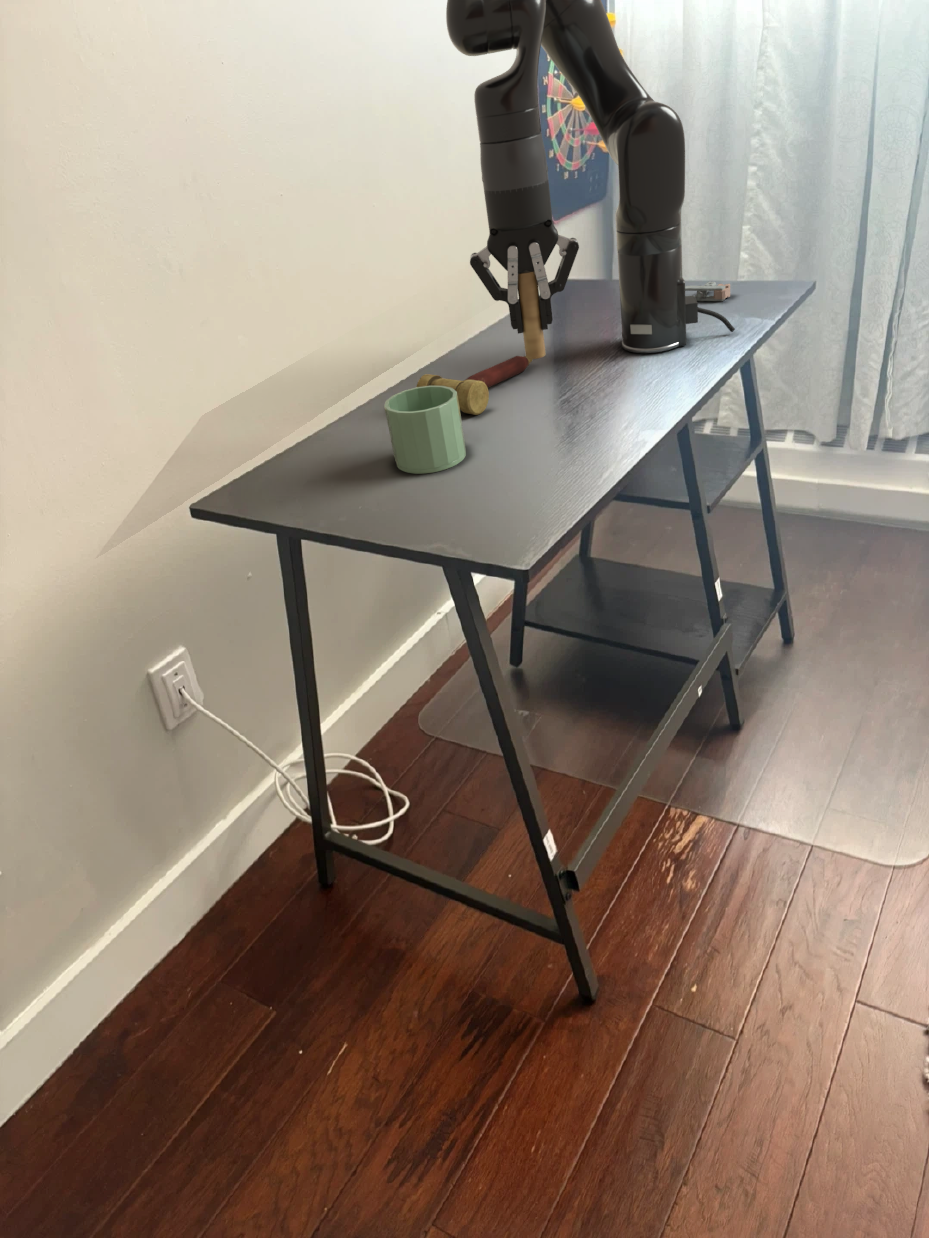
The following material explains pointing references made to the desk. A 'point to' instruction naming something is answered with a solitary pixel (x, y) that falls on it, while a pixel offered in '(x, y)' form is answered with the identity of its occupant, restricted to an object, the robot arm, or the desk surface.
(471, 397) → the gavel
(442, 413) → the cup
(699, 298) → the clamp
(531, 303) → the stick
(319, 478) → the desk surface
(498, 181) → the robot arm
